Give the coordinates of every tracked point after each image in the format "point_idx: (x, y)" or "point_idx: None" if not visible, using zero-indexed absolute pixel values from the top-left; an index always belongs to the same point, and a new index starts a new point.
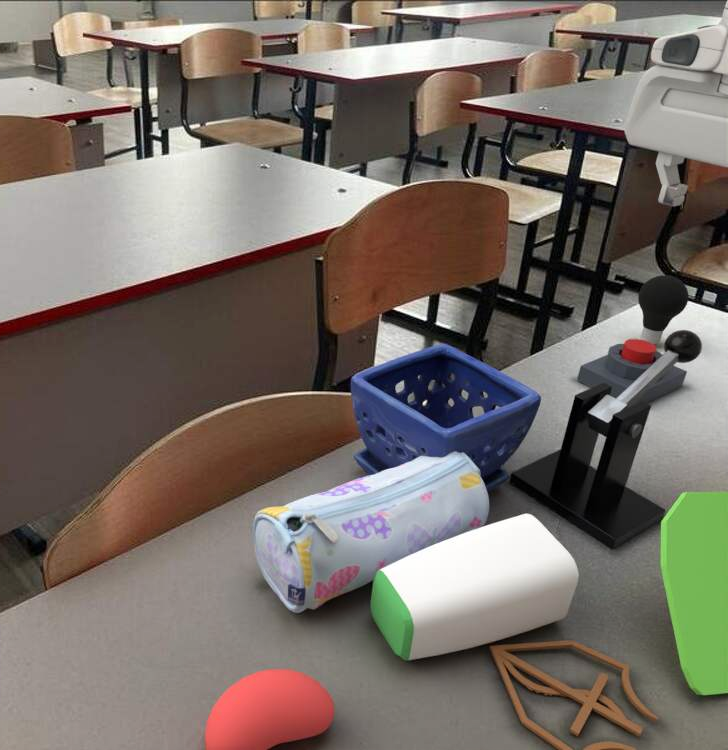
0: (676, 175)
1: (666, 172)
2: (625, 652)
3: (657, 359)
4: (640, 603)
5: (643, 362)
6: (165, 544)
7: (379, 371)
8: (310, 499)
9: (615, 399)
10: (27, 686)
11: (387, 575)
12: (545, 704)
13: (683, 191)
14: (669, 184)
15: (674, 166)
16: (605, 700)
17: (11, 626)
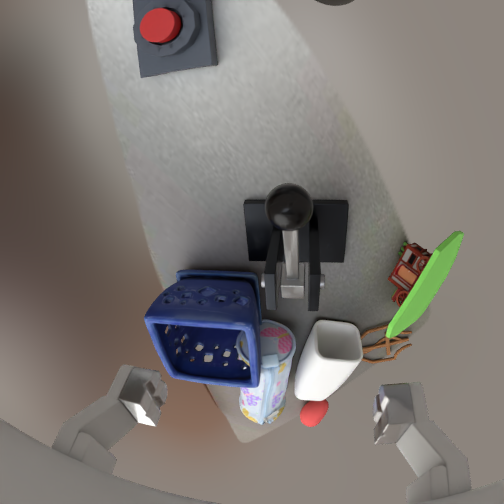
0: (109, 417)
1: (115, 441)
2: (386, 311)
3: (180, 11)
4: (378, 281)
5: (177, 32)
6: (214, 389)
7: (169, 365)
8: (251, 409)
9: (291, 286)
10: (257, 424)
11: (302, 399)
12: (373, 350)
13: (150, 402)
14: (135, 424)
15: (91, 429)
16: (391, 338)
17: (232, 420)
